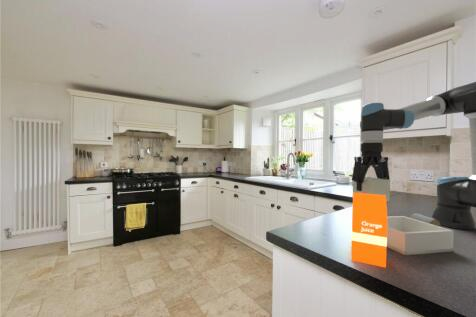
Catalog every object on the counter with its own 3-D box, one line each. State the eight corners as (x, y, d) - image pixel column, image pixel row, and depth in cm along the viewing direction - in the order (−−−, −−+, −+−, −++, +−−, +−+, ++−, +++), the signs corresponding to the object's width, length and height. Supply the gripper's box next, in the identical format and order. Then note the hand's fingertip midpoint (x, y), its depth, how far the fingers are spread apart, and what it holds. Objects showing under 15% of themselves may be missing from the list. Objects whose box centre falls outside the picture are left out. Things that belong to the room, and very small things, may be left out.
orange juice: (350, 250, 72) (352, 190, 71) (382, 256, 68) (384, 193, 67) (351, 260, 65) (353, 194, 64) (386, 268, 61) (388, 197, 60)
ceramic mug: (429, 238, 85) (430, 218, 85) (407, 231, 93) (408, 213, 92) (446, 236, 88) (447, 217, 88) (423, 229, 96) (424, 212, 96)
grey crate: (402, 232, 91) (403, 216, 90) (453, 251, 73) (453, 230, 73) (361, 234, 87) (362, 217, 86) (404, 255, 69) (405, 233, 69)
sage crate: (369, 198, 92) (369, 177, 92) (389, 203, 82) (390, 179, 82) (352, 198, 91) (353, 177, 91) (371, 203, 81) (371, 179, 81)
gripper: (385, 143, 92) (384, 196, 92) (342, 142, 88) (341, 197, 88) (402, 142, 84) (400, 200, 85) (355, 141, 81) (354, 201, 81)
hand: (370, 198), depth 86 cm, fingers closed on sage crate, 8 cm apart
